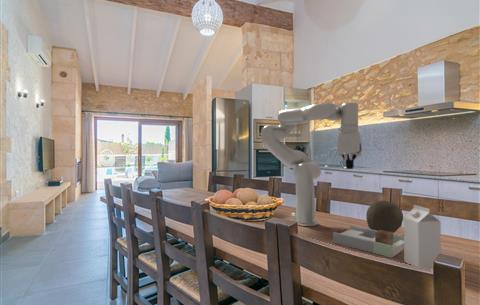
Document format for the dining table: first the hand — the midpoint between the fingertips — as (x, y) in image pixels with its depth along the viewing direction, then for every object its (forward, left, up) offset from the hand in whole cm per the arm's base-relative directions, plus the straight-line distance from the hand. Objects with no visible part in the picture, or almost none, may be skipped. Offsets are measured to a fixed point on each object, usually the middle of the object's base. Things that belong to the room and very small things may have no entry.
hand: (349, 168), depth 126 cm
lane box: (+14, -13, -29) cm, 35 cm away
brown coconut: (+13, +5, -29) cm, 32 cm away
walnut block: (+21, -16, -27) cm, 37 cm away
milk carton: (+34, -21, -29) cm, 50 cm away
